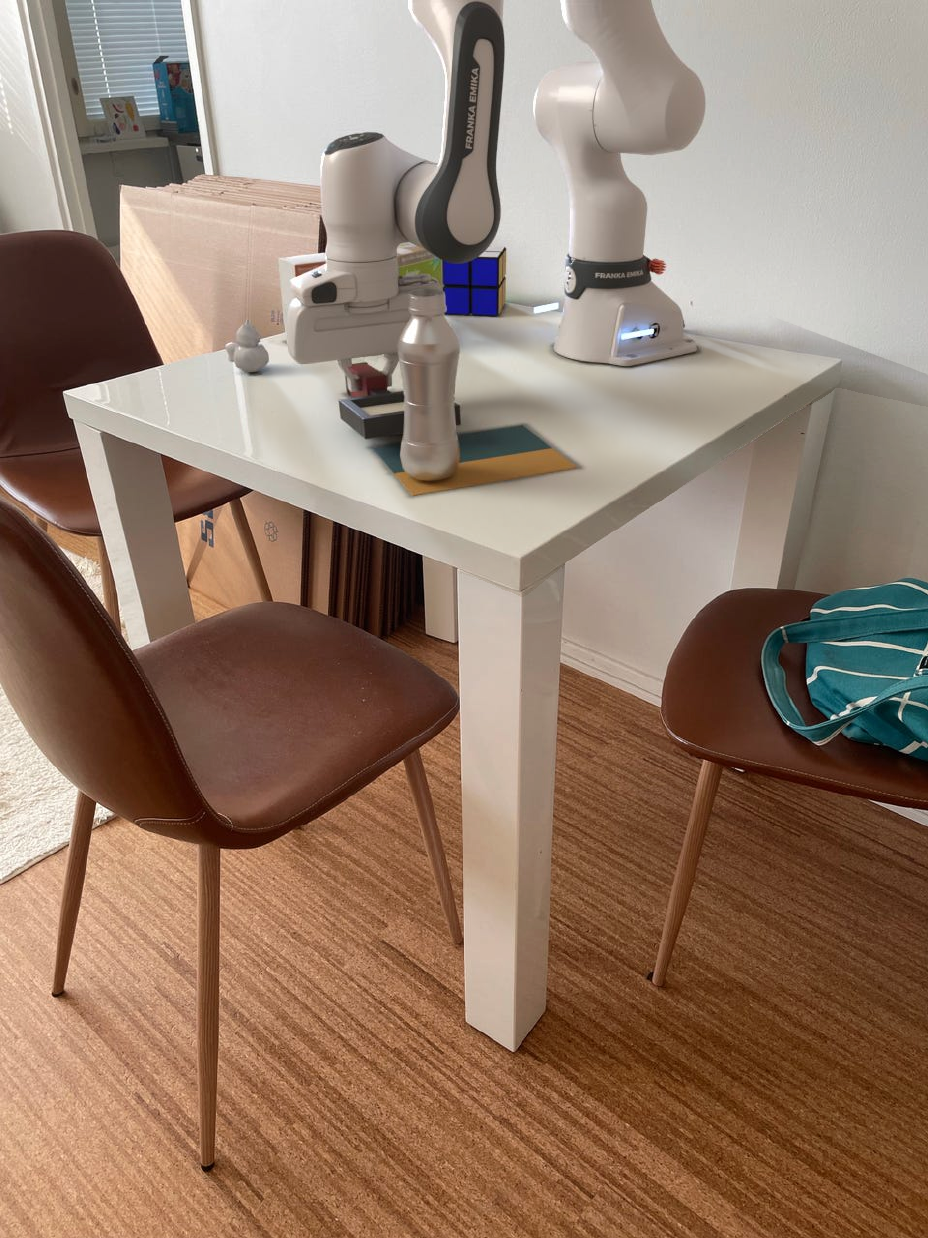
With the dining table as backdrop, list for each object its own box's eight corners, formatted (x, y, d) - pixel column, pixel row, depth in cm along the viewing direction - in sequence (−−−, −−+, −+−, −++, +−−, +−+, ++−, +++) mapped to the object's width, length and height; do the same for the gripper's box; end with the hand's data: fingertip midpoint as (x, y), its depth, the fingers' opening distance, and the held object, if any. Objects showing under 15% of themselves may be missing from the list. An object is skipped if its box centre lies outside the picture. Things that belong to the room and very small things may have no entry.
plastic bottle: (400, 465, 107) (392, 286, 97) (458, 463, 108) (457, 284, 97) (401, 488, 102) (393, 301, 91) (462, 486, 102) (462, 299, 92)
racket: (315, 397, 128) (312, 368, 126) (398, 386, 132) (396, 358, 130) (365, 439, 108) (362, 405, 106) (461, 424, 112) (459, 391, 110)
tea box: (336, 335, 155) (329, 241, 147) (380, 323, 161) (375, 232, 153) (401, 352, 146) (397, 253, 138) (444, 338, 153) (443, 243, 145)
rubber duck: (261, 377, 136) (254, 321, 132) (220, 374, 137) (212, 318, 133) (277, 366, 140) (271, 312, 136) (237, 363, 142) (230, 309, 137)
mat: (522, 428, 119) (522, 424, 119) (577, 471, 107) (577, 467, 107) (372, 451, 113) (372, 447, 112) (413, 499, 101) (412, 495, 101)
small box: (302, 350, 147) (293, 264, 140) (285, 341, 152) (276, 257, 145) (347, 342, 151) (341, 258, 144) (330, 333, 156) (323, 251, 149)
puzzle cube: (442, 314, 166) (441, 255, 161) (452, 301, 174) (451, 244, 169) (498, 316, 164) (499, 257, 159) (505, 303, 173) (506, 246, 167)
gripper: (432, 267, 122) (434, 371, 129) (277, 282, 116) (289, 390, 123) (449, 277, 117) (451, 384, 125) (289, 293, 111) (301, 405, 118)
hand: (369, 387), depth 124 cm, fingers closed on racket, 3 cm apart
